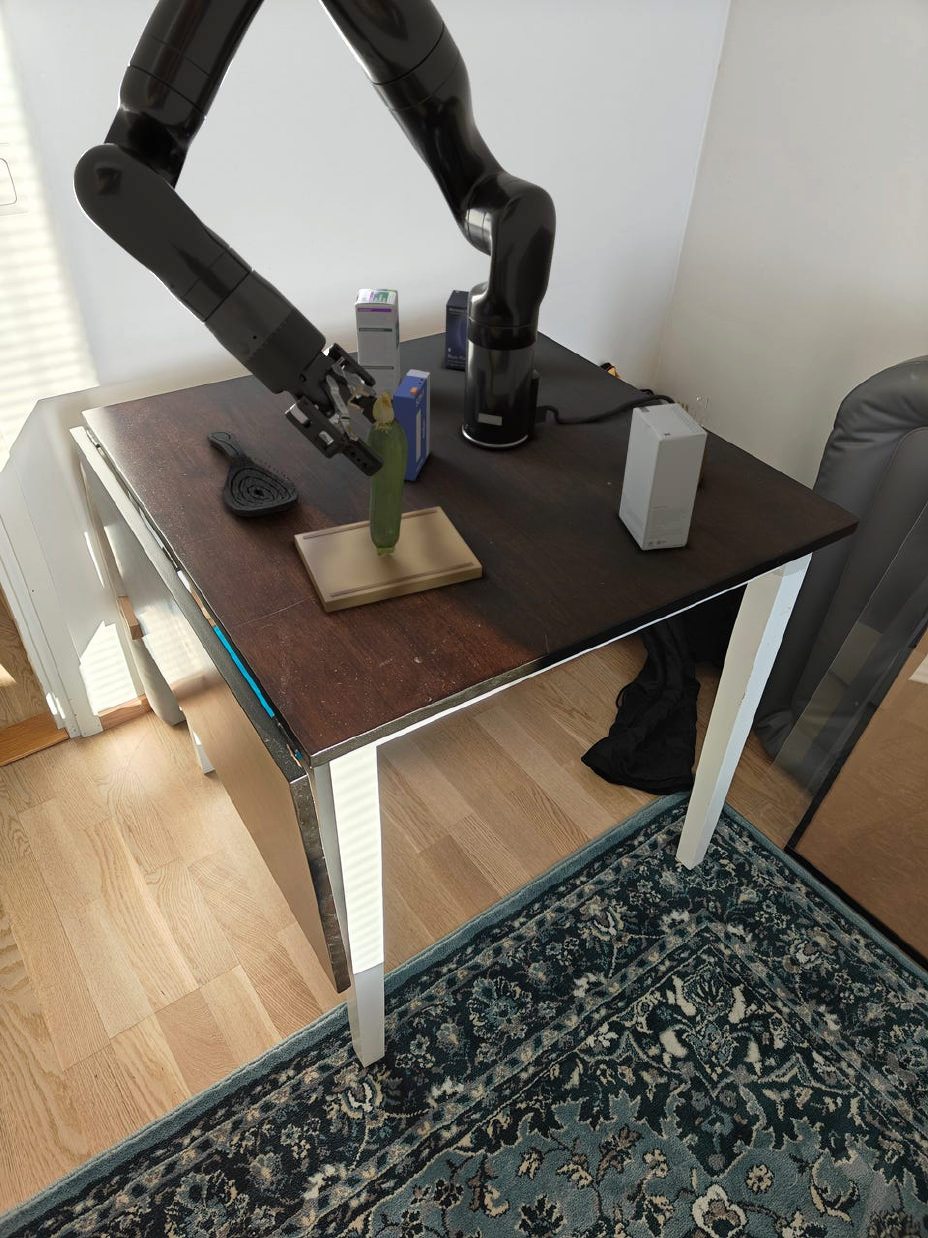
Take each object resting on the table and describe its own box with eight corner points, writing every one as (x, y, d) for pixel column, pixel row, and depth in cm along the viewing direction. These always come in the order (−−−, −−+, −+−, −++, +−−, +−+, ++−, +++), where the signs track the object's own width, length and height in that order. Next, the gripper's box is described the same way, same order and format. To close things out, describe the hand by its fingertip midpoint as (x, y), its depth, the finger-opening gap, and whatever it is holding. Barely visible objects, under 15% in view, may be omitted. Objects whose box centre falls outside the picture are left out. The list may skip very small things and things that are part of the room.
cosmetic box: (686, 547, 104) (713, 435, 94) (638, 552, 102) (661, 439, 93) (658, 508, 110) (682, 399, 100) (614, 513, 109) (633, 403, 99)
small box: (442, 369, 138) (444, 303, 132) (450, 352, 143) (451, 288, 136) (508, 376, 137) (513, 310, 130) (513, 359, 142) (518, 294, 135)
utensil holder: (709, 478, 116) (730, 394, 108) (683, 496, 112) (703, 411, 104) (671, 461, 119) (689, 379, 111) (645, 478, 115) (662, 394, 107)
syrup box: (398, 400, 130) (396, 303, 120) (359, 398, 130) (354, 301, 120) (401, 383, 134) (399, 288, 125) (363, 381, 134) (358, 287, 125)
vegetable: (370, 540, 100) (363, 376, 87) (407, 539, 100) (406, 376, 87) (370, 563, 96) (362, 396, 84) (409, 562, 97) (408, 396, 84)
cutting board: (439, 516, 107) (439, 505, 106) (481, 577, 98) (482, 565, 97) (295, 545, 101) (294, 534, 100) (326, 613, 92) (325, 601, 91)
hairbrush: (241, 410, 120) (309, 490, 103) (245, 435, 122) (312, 517, 105) (181, 423, 116) (241, 508, 99) (186, 448, 119) (246, 535, 102)
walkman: (414, 481, 113) (414, 395, 105) (394, 478, 113) (392, 392, 105) (430, 452, 118) (431, 368, 111) (410, 449, 119) (410, 365, 111)
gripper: (267, 337, 76) (398, 464, 83) (309, 280, 87) (422, 396, 93) (217, 388, 80) (346, 505, 87) (263, 328, 91) (375, 436, 97)
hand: (385, 449), depth 90 cm, fingers open, 8 cm apart
